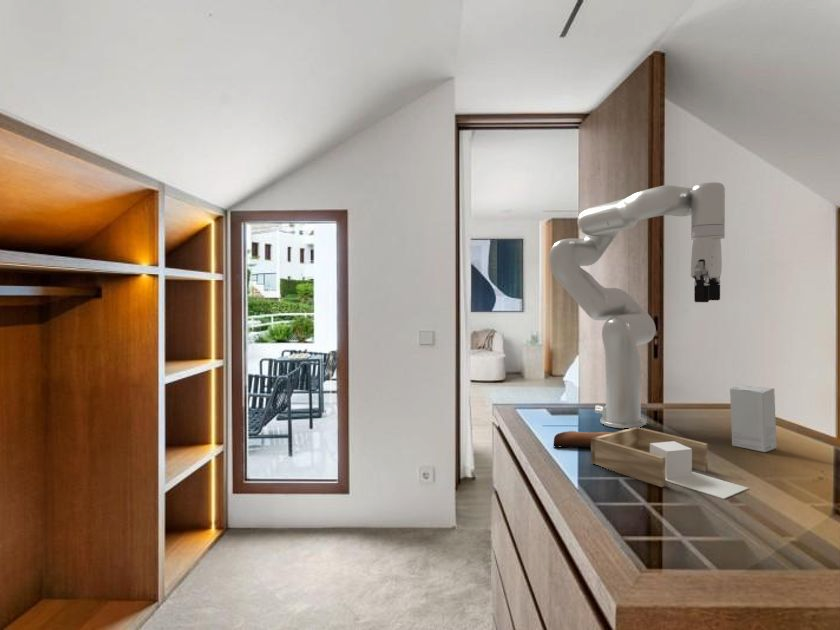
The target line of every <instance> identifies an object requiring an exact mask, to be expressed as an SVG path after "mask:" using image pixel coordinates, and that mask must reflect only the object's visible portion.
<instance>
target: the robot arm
mask: <svg viewBox="0 0 840 630" xmlns="http://www.w3.org/2000/svg"><path fill="white" fill-rule="evenodd" d="M725 207H726V188H725V185H724V184H723V183H721V182H718V181H717V182H712V181H711V182H702V183H698V184H696V185H694V186H693V187H683V186H677V185H669V184H667V185H660V186H656V187H652V188H648V189H645V190H641V191H637V192H635V193H633V194H630V195H628V196H627V197H625V198H622V199H618V200H614V201H611V202H606V203H602V204H599V205H594V206H592V207H588V208H586V209H585V210H583V211H582V212H581V213H579V215H578V217H577V227H578V229H579V231H580V232H581V233H583V234H584V235H585V236H584V238H564V239H560V240H558V241H556V242H554V244H553V245H552V247H551V248H550V251H549V254H548V263H549V264H548V265H549V268H550V271H551V273H552V275H553V278H554V279H555V280H556V281H557V282H558V283H559V284H560V285H561V286H562V288H564V290H566V292H567V293H568V294H569V295H570V296H571V297H572V299H573V300H574V301H575V302H576V303H577V304H578V305H579V307H580V308H581V309H582V310H583V311H584V312H585V314H586V315H587V316H588V317H589V318H590V319H592V320H595V321H605V322H604V324H603V326H602V330H601V338H602V342H603V343H602V344H603V348H604V357H605V359H604V360H605V361H604V362H605V405H604V406H603V405H599V404H596V405H595V407H594V413H596V414H601V415H602V416H600V421H599V422H600V424H602V425H603V424H604V425H603V426H606V427H610V428H615V429H624V428H631V427H639V426H643V425H645V424H646V423H647V419H646V418H643V417H641V416H642V415H641V413H642V412H641V411H642V410H641V409H642V408H641V407H642V406H641V403H642V397H641V396H642V393H641V392H642V391H641V390H642V385H641V383H642V382H641V378H642V377H641V373H642V370H641V359H640V354H639V351H638V348H637V346H641V345H646V344H648V343H650V342H651V341H653V339H654V338H655V336H656V331H657V329H656V328H657V327H656V323H655V321H654V320H653V318H652V317H651V315H650V314H649V313H648V312H646V310H645V309H644V308H643V307H642V306H641V305H640V304H639V302H637V301H636V299H634V298H633V297H632V296H631V295H630V294H629V293H628V292H627V291H625V290H623V289H621V288H617V287H604V286H602V285H601V284H600V283H599V282H598V281H597V280H596V279H595V277H594V276H593V275H591V274H590V272H588V271H586V270H585V269H584V268H582V267H589V266H592V265H594V264H596V263H597V262H598V261H599V260H600V259H601V258H602V256H603V255H604V253H605V252H606V251H607V250H608V248H609V247H610V246H611V244H612V243H613V241H614V239H616V237H617V235H618V233H619V232H620V231H623V230H624V231H625V230H629V229H632V228H634V227H636V226H637V223H638V222H639V221H643V220H646V219H651V218H655V217H661V216H671V217H688V216H690V218H691V219H690V220H691V221H690V222H691V223H690V224H691V227H690V228H691V229H690V230H691V231H690V232H691V233H690V235H691V240H692V248H691V258H690V259H691V260H690V276H691V278H692V279H694V283H693V284H694V290H693V291H694V296H693V297H694V299H693V300H694V303H709V301H720V300H721V280H720V278H721V276H722V265H723V264H722V260H723V259H722V243H721V239H725V230H726V228H725V227H726V224H725V223H726V219H725V216H726V208H725ZM646 425H647V424H646Z"/></svg>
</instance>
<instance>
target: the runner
mask: <svg viewBox="0 0 840 630" xmlns="http://www.w3.org/2000/svg"><path fill="white" fill-rule="evenodd" d="M665 482H667V483H670V484H674V485H677V486H680V487H683V488H686V489H690V490H693V491H695V492H699V493H702V494H705V495H709V496H712V497H715V498H718V499H721V500H725V499H728V498H730V497H732V496H735V495H737V494H740V493H742V492H744V491H747V490H749V487H746V486H743V485H740V484H738V483H737V484H736V483H733V482H729V481H726V480H722V479H719V478H715V477H712V476H708V475H705V474H701V473H698V472H695V471H692V476H691V477H682V478H673V479H665Z"/></svg>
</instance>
